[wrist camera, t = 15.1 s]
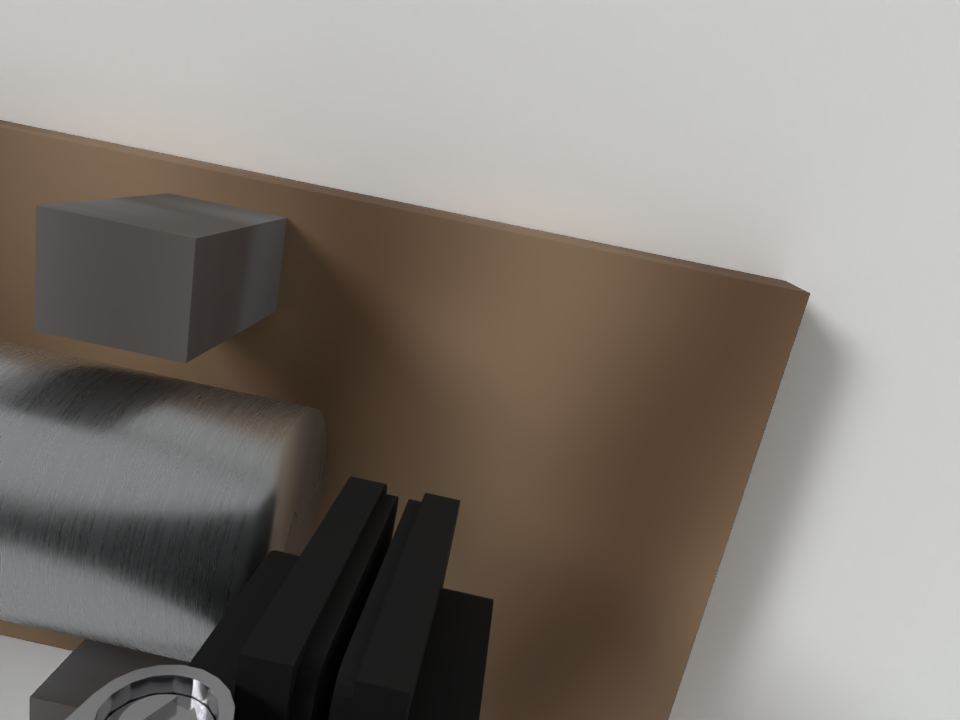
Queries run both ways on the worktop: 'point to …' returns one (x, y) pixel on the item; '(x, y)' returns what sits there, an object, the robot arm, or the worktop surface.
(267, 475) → the tube
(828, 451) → the worktop surface
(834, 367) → the worktop surface
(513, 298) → the brown board
